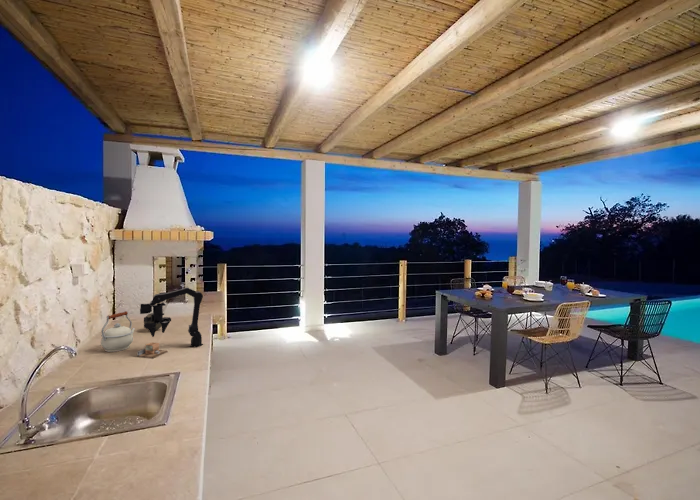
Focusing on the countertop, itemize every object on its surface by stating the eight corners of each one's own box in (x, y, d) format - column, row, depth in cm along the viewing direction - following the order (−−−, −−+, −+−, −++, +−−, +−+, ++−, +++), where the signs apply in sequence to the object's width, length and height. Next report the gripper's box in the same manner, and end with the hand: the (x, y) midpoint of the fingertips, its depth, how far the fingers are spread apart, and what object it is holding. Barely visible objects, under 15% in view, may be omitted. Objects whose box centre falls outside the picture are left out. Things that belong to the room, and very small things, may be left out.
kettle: (113, 355, 209) (113, 317, 209) (91, 352, 213) (91, 315, 212) (145, 343, 234) (145, 310, 233) (124, 341, 237) (124, 308, 237)
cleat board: (167, 352, 218) (167, 347, 218) (153, 358, 205) (153, 353, 205) (152, 350, 220) (152, 345, 220) (137, 356, 208) (137, 351, 208)
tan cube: (159, 351, 215) (159, 343, 215) (152, 354, 210) (152, 345, 209) (151, 351, 216) (151, 342, 216) (145, 353, 211) (145, 344, 211)
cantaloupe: (145, 329, 269) (145, 311, 269) (164, 327, 275) (164, 310, 274) (142, 333, 256) (142, 315, 256) (162, 332, 262) (162, 314, 262)
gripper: (157, 308, 229) (158, 330, 229) (136, 315, 210) (136, 338, 211) (171, 309, 227) (171, 331, 228) (151, 315, 209) (151, 339, 209)
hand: (158, 334), depth 219 cm, fingers open, 9 cm apart
